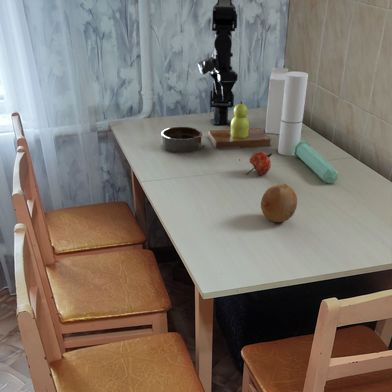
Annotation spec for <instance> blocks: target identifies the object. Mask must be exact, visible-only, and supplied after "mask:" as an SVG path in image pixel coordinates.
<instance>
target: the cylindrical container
mask: <svg viewBox="0 0 392 392" xmlns="http://www.w3.org/2000/svg"><path fill="white" fill-rule="evenodd" d="M308 79H309V73H308V72H304V71H288V72H287V73H286V78H285V87H284V97H283V107H282V117H281V127H280V134H279V136H278V138H279V139H278V147H277V153H278V154H279V155H282V156H286V157H287V156H288V157H289V156H290V157H291V156H296V155H295V154H294V147H295V146H296V145H297V143H298V142H299V141H301V136H302V127H303V121H304V111H305V105H306V104H305V103H306V96H307V95H306V94H307V87H308Z"/></svg>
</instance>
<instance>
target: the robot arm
mask: <svg viewBox="0 0 392 392" xmlns="http://www.w3.org/2000/svg"><path fill="white" fill-rule="evenodd" d="M232 1H233V0H217V2H216V3H215V4H214V5H213V6H212V19H211V20H212V22H211V31H212V32H215V33H214V43H213V46H214V51H212V54H211V56H210V57H208V58H205V59H203V60H201V61H199V62H197V67H198V69H199V73H200V74H201V75H206V74H207V73H208V75H209V76H210V77H211V78H212V79H213V84H212V90H210V100H209V101H210V102H209V103H210V106H209V108H213V116H212V117H213V118H211V119H210V121H211V123H212V124H213V125H214V126H221V125H222V126H223V125H231V121H229V109H232V108H233V107H234V102H235V95H234V92H233V88H234V86H235V84H236V83H237V82H238V80H239V79H238V73H237V72H236V71H235V70H234V69H233V66H232V57H233V55H234V54H233V52H232V46H233V42H232V41H233V40H232V39H233V32H236V29H238V13H237V8H236V6H235V4H234V3H232Z"/></svg>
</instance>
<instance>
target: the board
mask: <svg viewBox="0 0 392 392" xmlns="http://www.w3.org/2000/svg"><path fill="white" fill-rule="evenodd" d="M207 135H208V138H209V140H210V141H211V143H212V144H213V146H214V148H215V149H223V148H225V149H226V148H241V149H245V148H260V147H263V148H264V147H271V141H272V140H271V138H270V137H269V135H268V134H267V133H265V131H264V130H263V129H262V128H261V127H253V128H251V127H249V131H248V136H247V137H245V138H235V137H232V136H231V129H215V130H208V133H207Z"/></svg>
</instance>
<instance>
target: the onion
mask: <svg viewBox="0 0 392 392" xmlns="http://www.w3.org/2000/svg"><path fill="white" fill-rule="evenodd" d="M297 207H298V197H297V194H296V192H295V190H294V188H292V187H291V186H289V185H288V184H286V183H279V184H274V185H272V186H271V187H268V188H267V189H266V190H265V191H264V193H263V195H262V197H261V201H260V209H261V213H262V215H263V216H264V217H265V218H266V220H268V221H270V222H273V223H282V222H283V223H284V222H286V221H288V220H289V219H291V218H292V217H293V216H294V214H295V212H296V211H297Z"/></svg>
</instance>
